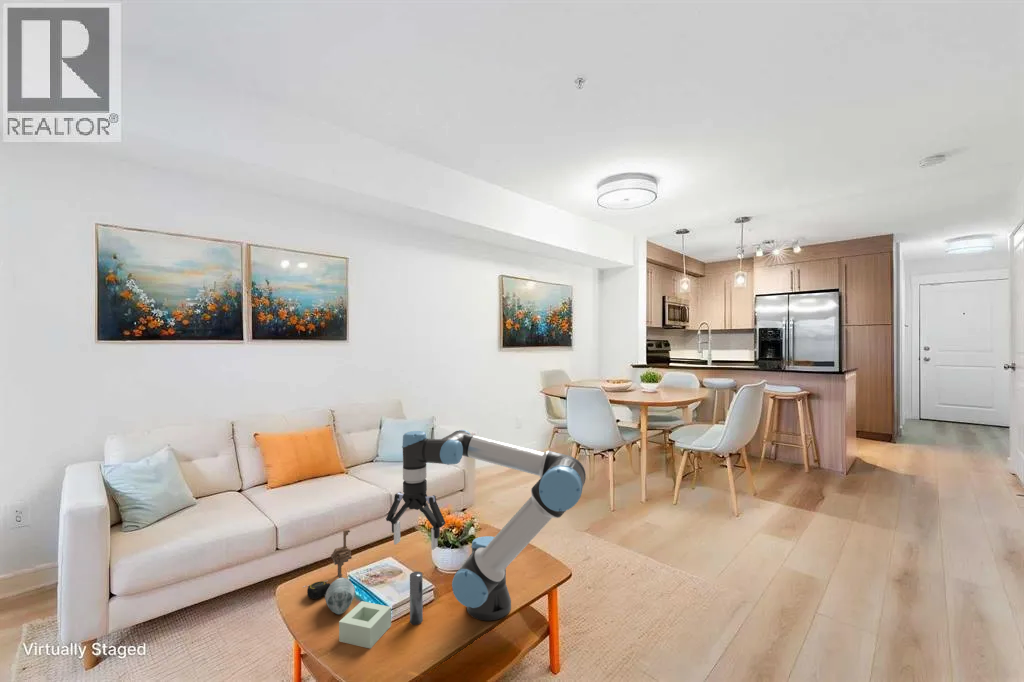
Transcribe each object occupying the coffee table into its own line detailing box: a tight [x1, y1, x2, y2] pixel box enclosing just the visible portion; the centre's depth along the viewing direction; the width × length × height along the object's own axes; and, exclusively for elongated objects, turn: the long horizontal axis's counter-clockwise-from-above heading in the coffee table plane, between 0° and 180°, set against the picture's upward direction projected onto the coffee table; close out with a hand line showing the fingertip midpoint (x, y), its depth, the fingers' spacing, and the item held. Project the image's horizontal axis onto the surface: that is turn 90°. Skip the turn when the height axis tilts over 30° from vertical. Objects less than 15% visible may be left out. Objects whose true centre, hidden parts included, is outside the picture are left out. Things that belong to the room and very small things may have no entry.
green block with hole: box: [338, 600, 392, 650], centre depth 137 cm, size 11×11×6 cm
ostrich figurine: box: [303, 529, 353, 588], centre depth 167 cm, size 17×7×18 cm, turn 121°
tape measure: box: [307, 580, 332, 600], centre depth 157 cm, size 7×7×4 cm
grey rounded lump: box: [324, 577, 356, 615], centre depth 150 cm, size 14×10×10 cm
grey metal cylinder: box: [409, 571, 424, 626], centre depth 143 cm, size 4×4×15 cm
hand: (415, 545), depth 144 cm, fingers open, 13 cm apart
